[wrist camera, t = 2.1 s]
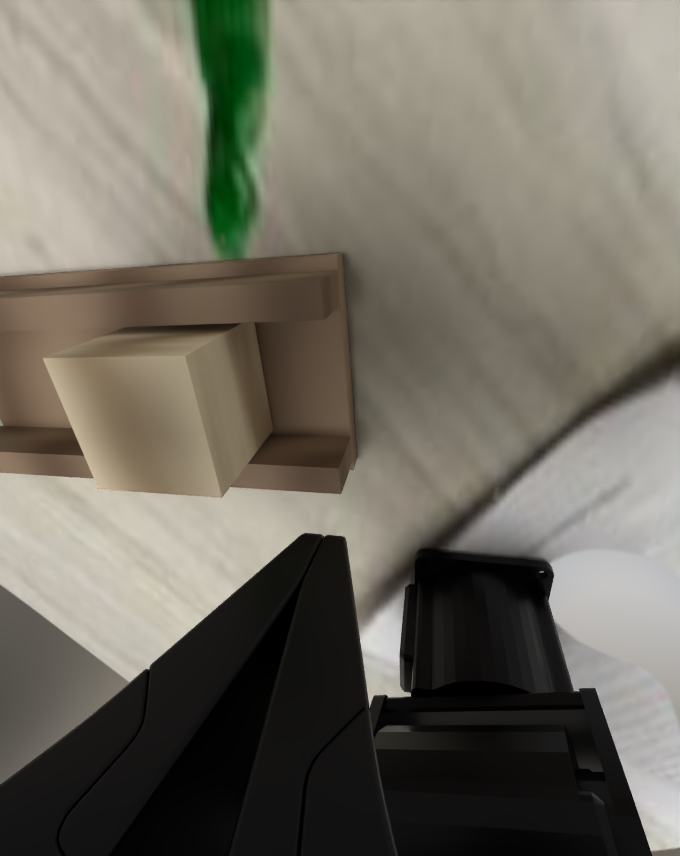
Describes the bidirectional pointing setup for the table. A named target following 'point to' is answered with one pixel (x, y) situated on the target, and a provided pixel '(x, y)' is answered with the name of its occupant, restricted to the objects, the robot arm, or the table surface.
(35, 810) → the robot arm
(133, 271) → the walnut chute
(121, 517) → the table surface
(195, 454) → the maple block
